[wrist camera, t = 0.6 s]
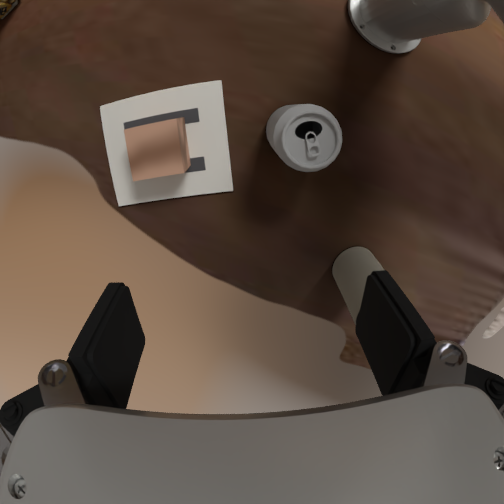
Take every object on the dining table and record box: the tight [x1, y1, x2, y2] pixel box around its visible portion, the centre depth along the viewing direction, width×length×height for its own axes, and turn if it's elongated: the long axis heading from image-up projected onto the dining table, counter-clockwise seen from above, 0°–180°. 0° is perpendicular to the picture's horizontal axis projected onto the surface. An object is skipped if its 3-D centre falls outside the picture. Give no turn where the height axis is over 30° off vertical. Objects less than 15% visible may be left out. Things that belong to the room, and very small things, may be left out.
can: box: [266, 104, 342, 172], centre depth 32 cm, size 8×8×12 cm
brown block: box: [124, 117, 191, 181], centre depth 35 cm, size 7×7×5 cm
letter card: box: [100, 80, 233, 206], centre depth 37 cm, size 16×18×1 cm
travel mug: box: [332, 247, 384, 325], centre depth 40 cm, size 8×8×18 cm
